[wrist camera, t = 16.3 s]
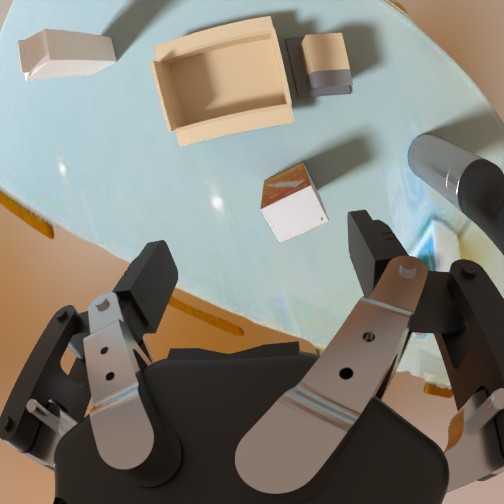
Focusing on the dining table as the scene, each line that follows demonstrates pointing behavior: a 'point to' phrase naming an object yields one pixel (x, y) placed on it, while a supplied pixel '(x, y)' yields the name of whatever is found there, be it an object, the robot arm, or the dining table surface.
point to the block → (325, 60)
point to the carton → (222, 81)
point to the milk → (64, 54)
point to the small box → (292, 203)
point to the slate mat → (301, 75)
